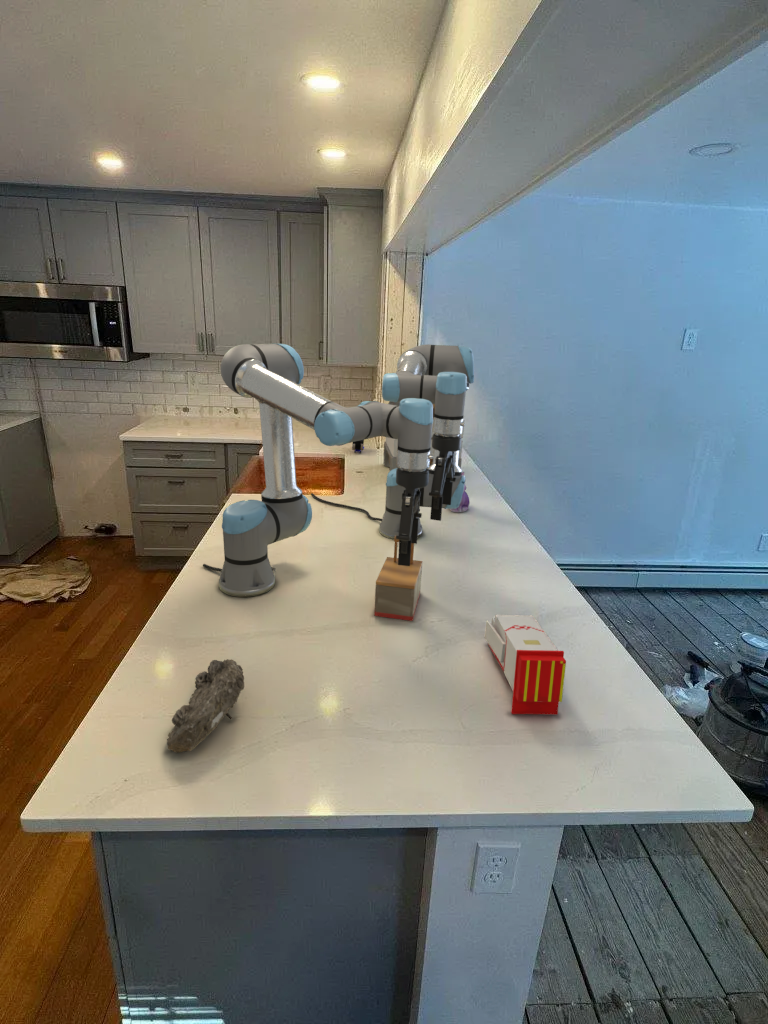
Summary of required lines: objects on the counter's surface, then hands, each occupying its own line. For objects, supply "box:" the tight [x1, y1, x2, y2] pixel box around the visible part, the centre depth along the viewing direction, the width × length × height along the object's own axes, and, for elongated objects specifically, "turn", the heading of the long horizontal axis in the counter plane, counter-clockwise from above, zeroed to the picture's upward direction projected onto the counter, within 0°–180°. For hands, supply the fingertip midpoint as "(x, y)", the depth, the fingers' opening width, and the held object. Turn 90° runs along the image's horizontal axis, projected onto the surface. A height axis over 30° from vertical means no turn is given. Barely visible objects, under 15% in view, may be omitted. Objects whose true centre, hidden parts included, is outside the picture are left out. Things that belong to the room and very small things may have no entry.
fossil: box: [166, 658, 245, 754], centre depth 106 cm, size 22×10×15 cm
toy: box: [484, 614, 567, 716], centre depth 124 cm, size 12×13×30 cm
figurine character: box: [351, 439, 365, 454], centre depth 310 cm, size 7×8×15 cm
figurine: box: [449, 471, 470, 513], centre depth 225 cm, size 9×10×15 cm
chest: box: [373, 566, 423, 622], centre depth 151 cm, size 15×10×9 cm, turn 169°
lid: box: [375, 536, 424, 589], centre depth 148 cm, size 16×10×8 cm, turn 169°
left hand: (407, 553), depth 136 cm, fingers open, 13 cm apart
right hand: (440, 511), depth 153 cm, fingers open, 13 cm apart
